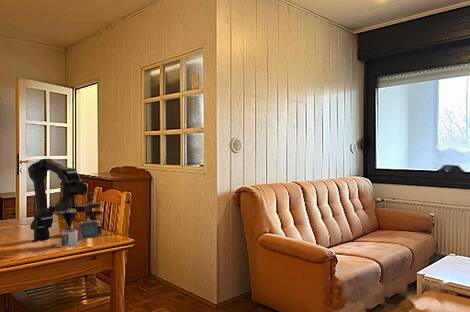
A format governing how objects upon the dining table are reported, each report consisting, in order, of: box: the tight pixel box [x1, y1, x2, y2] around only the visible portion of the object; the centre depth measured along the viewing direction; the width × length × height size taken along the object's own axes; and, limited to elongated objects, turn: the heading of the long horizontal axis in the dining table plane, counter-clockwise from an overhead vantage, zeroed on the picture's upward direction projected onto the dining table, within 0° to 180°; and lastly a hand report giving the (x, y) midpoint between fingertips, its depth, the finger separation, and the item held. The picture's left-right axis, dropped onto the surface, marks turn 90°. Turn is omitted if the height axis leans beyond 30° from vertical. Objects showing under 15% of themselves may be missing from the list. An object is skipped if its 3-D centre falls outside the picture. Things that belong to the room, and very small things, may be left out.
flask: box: [78, 217, 99, 240], centre depth 188 cm, size 9×3×11 cm, turn 121°
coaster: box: [53, 241, 84, 248], centre depth 174 cm, size 10×10×1 cm
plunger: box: [64, 225, 74, 232], centre depth 174 cm, size 4×4×6 cm
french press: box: [83, 192, 107, 235], centre depth 200 cm, size 12×9×23 cm
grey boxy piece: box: [60, 229, 79, 246], centre depth 173 cm, size 7×9×6 cm
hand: (69, 226), depth 174 cm, fingers closed, pressing on plunger
